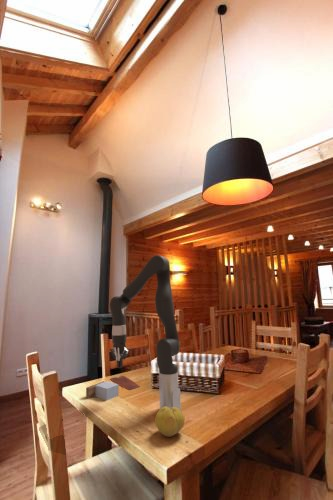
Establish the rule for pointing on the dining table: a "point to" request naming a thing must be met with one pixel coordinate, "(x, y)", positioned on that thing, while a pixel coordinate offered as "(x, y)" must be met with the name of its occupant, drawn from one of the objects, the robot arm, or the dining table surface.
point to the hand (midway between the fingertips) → (119, 367)
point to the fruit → (169, 420)
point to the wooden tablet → (125, 382)
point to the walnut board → (91, 391)
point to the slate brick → (106, 390)
